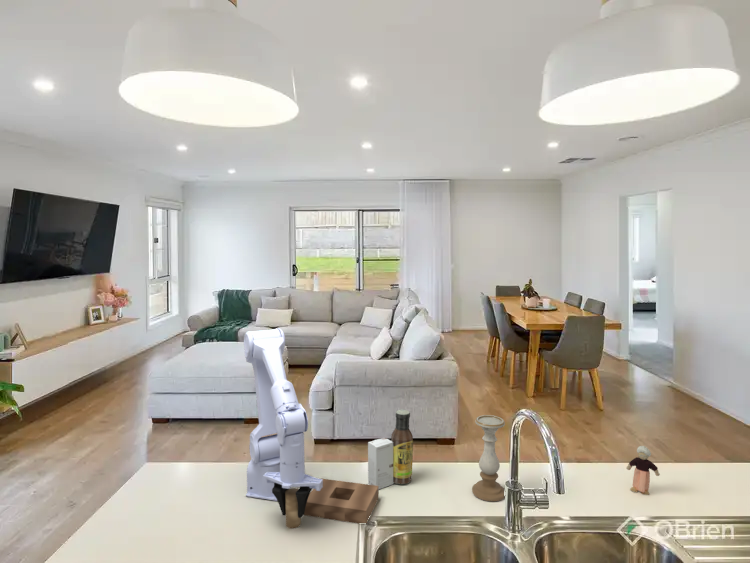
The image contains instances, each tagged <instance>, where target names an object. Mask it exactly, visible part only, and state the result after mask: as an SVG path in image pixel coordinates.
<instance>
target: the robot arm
mask: <svg viewBox="0 0 750 563" xmlns="http://www.w3.org/2000/svg"><path fill="white" fill-rule="evenodd" d="M243 337H244V338H243V347H244V348H243V349H244V357H245V360H246V363H250V364H251V366H252V368H253V376H254V377H253V378H254V385H255V388H254V389H255V396H256V406H257V416H258V424H257V426H256V427H255V428H253V430H252V431H251V432H250V434H249V455H250V458H251V459H250V461H249V462H248V465H247V468H246V490H247V491H246V494H245V496H246V497H248V498H256V499H262V500H269V501H276V502H277V503H278V505H279V507H280V508H279V509H280V511H281V515H282V516H285V517H286V506H285V492H286V491H287V490H288V489H291V488H297V489H298V491H297V492H296V497H297V502H298V518H301V519H302V518H303V516H305V515H304V513H305V507H306V503H307V500H308V497H309V494H310V493H311V491H312V490H313V489H316V491H320V490H321V489H322V487H323V479H324V478H322V479H321V478H318V477H315V476H312V475H310V474H307V473H305V472H306V471H305V470H306V469H305V463H306V462H305V433H306V432H308V430H309V419H308V414H307V411H306V409H305V408H304V407H303V405H302V403H299V400H298V397H297V396H298V395H297V394H296V391H295V390H296V389H295V388H294V385H293V383H292V381H289V380H288V379H287V375H286V370H285V365H284V361H283V360H284V359H283V354H284V350H285V346H286V335H285V332H284V330H282V328H279V327H277V328H273V329H264V330H263V329H262V330H253V331H251V330H248V331H246V332H245V334H244V336H243ZM298 487H299V488H298Z"/></svg>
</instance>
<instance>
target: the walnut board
mask: <svg viewBox="0 0 750 563" xmlns="http://www.w3.org/2000/svg"><path fill="white" fill-rule="evenodd" d="M320 479H323V487H322V489H321V490H320V491H316V489H312V490H311V492H310V494H309V497H308V500H307V503H306V507H305V513H304V515H303V516H307V517H311V518H312V517H314V518H319V519H325V520H333V521H338V522H339V521H340V522H343V523H344V522H346V523H351V524H358V525H360V524H359V523H367V524H368V522H367V520H368V518H369V516H370V515H372V514H373V511H374V509H375V507H376V505H377V504H378V501H379V496H380V495H379V494H380V493H379V490H380V489H379V486H375V485H369V484H367V483H361V482H359V483H358V482H353V481H352V482H351V481H343V480H337V479H328V478H320ZM370 517H371V516H370ZM369 519H370V518H369ZM368 521H369V520H368Z"/></svg>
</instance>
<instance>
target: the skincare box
mask: <svg viewBox="0 0 750 563" xmlns="http://www.w3.org/2000/svg"><path fill="white" fill-rule="evenodd" d="M367 483H368V485H375V486H379V490H380V489H383V488H386V487H389V486H392V485H394V482H393V442H392V441H391V439H388V438H387V437H382V438H378V439H374V440H372V441H368V442H367Z"/></svg>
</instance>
